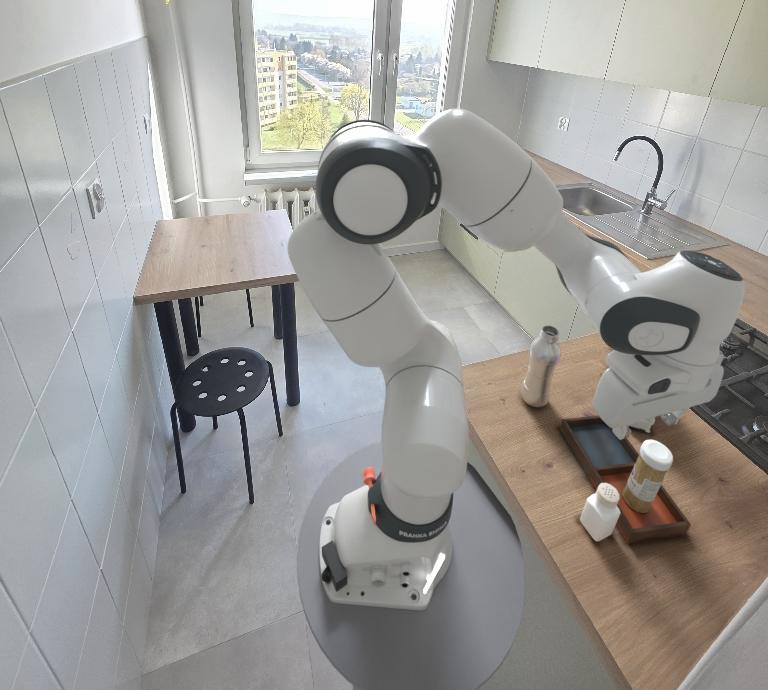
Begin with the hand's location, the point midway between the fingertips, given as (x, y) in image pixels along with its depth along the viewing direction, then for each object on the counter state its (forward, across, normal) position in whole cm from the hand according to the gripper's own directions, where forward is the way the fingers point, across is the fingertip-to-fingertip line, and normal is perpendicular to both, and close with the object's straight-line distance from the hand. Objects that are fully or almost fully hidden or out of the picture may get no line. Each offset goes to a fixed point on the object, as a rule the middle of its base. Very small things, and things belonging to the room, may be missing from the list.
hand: (644, 428), depth 64 cm
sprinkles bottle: (+22, -7, -1) cm, 23 cm away
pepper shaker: (+23, +3, 0) cm, 23 cm away
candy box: (+23, -24, -19) cm, 38 cm away
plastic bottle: (+23, -3, -26) cm, 35 cm away
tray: (+23, -8, -6) cm, 25 cm away
